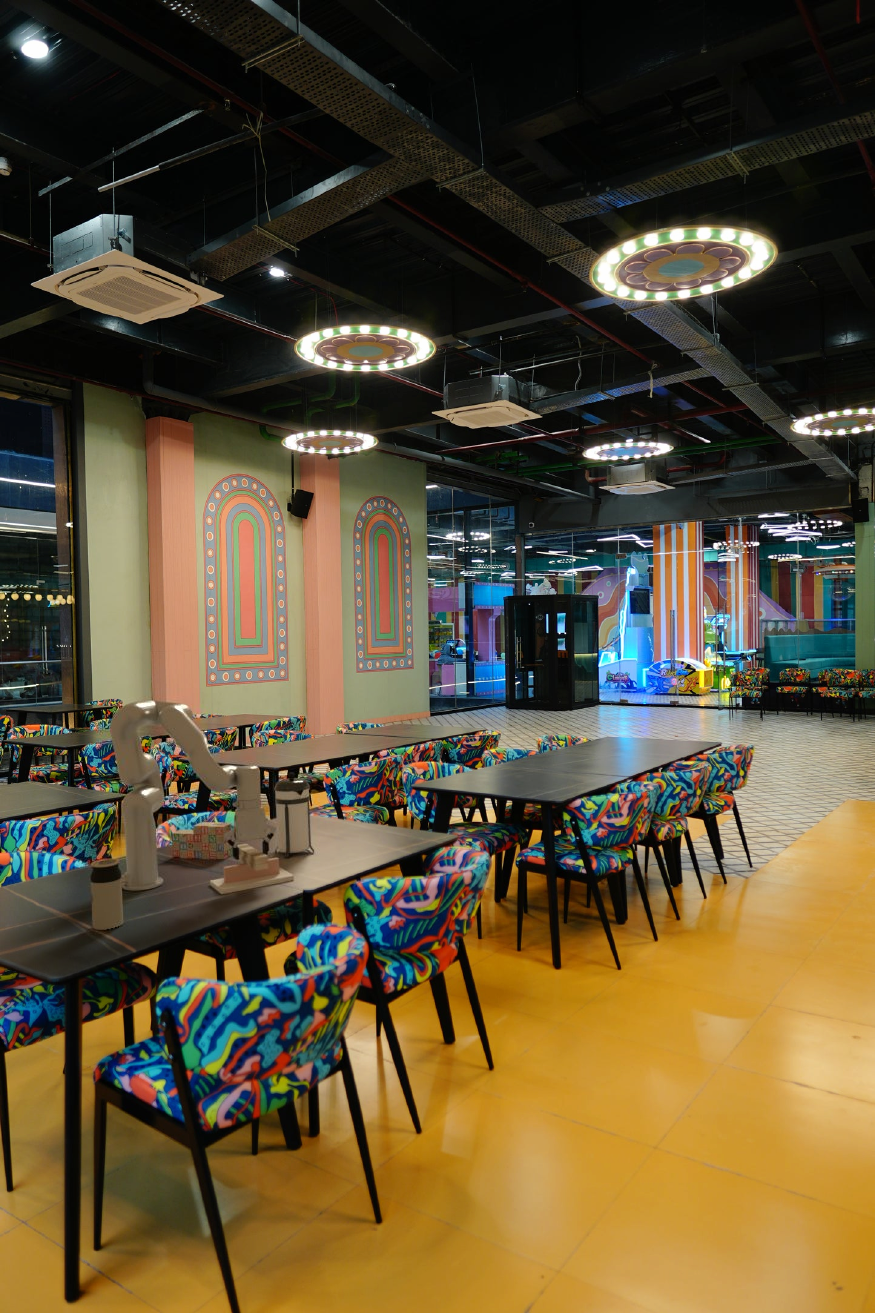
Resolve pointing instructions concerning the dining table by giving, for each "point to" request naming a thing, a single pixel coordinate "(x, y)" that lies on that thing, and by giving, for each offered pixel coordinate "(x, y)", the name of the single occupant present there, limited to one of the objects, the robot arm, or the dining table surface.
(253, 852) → the oak bar
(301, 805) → the coffee press
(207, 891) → the dining table surface
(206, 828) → the stack of blocks
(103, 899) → the travel mug
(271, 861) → the stand
